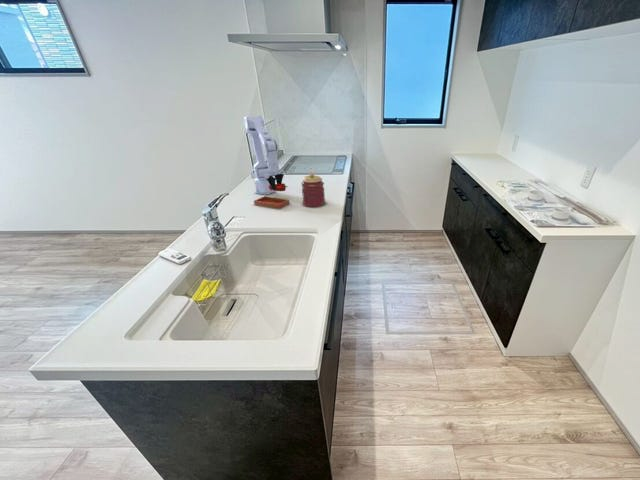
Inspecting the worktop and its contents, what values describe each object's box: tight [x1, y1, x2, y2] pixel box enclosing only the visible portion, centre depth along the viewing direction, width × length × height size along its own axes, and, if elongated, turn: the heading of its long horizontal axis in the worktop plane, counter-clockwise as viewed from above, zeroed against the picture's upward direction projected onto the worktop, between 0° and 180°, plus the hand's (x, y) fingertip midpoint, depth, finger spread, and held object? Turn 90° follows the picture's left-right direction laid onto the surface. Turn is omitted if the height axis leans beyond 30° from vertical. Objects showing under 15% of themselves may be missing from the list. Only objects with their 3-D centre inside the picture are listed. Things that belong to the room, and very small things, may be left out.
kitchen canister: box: [300, 172, 326, 208], centre depth 179 cm, size 13×13×18 cm
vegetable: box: [268, 182, 288, 192], centre depth 181 cm, size 4×5×12 cm
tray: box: [253, 195, 290, 210], centre depth 182 cm, size 18×10×2 cm, turn 66°
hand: (276, 188), depth 181 cm, fingers closed on vegetable, 5 cm apart
